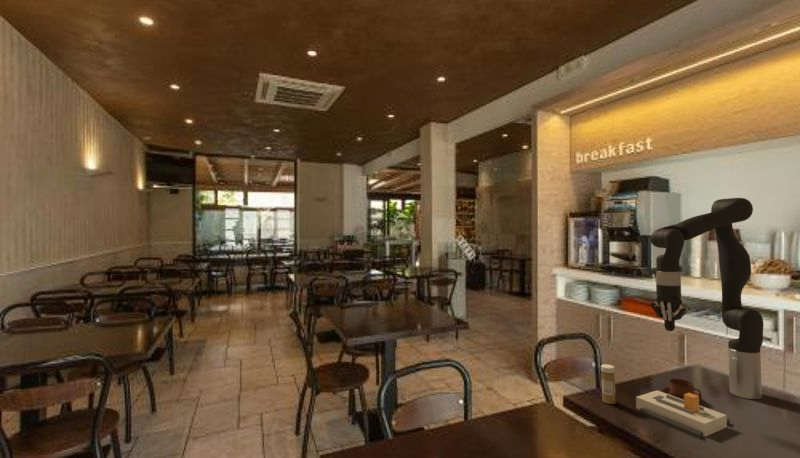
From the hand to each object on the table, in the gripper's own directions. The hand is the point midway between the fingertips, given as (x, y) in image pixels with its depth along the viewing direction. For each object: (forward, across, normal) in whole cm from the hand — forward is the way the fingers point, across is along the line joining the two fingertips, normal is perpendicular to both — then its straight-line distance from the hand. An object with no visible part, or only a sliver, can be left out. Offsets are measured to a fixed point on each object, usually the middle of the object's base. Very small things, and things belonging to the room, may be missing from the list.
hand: (669, 330), depth 143 cm
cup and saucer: (+27, +1, -8) cm, 29 cm away
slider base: (+27, -7, +8) cm, 29 cm away
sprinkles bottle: (+27, +12, +18) cm, 35 cm away
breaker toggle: (+23, -11, +8) cm, 27 cm away
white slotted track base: (+27, -8, +8) cm, 29 cm away
